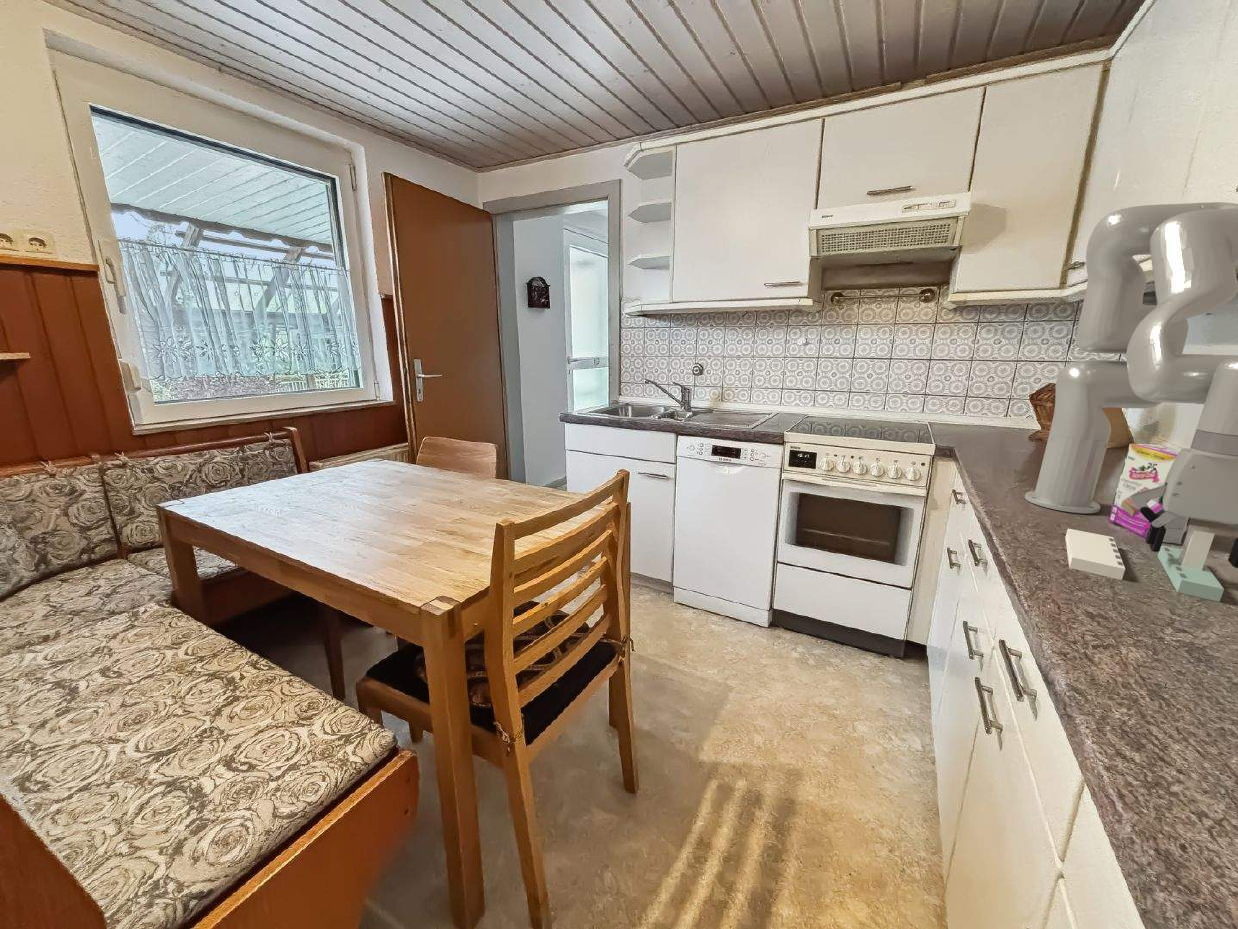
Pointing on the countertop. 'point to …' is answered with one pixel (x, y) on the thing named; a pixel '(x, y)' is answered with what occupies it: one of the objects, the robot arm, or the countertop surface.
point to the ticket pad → (1094, 554)
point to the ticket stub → (1192, 565)
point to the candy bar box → (1140, 474)
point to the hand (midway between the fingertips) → (1192, 556)
